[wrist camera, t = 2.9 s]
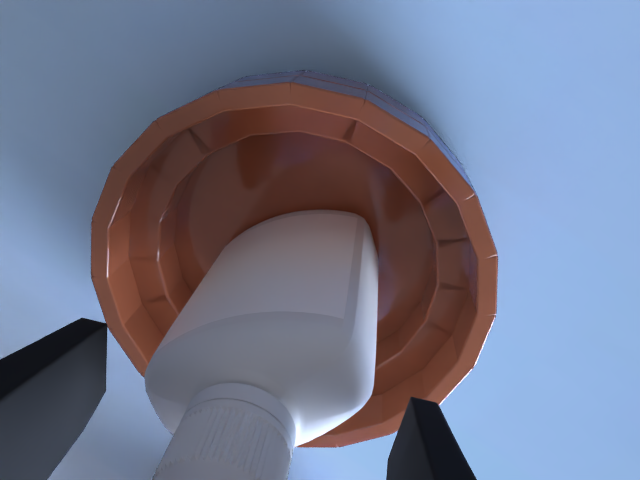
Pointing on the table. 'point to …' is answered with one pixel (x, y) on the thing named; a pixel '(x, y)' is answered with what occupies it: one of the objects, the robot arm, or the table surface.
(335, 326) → the eye dropper bottle
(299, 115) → the bowl
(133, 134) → the table surface
